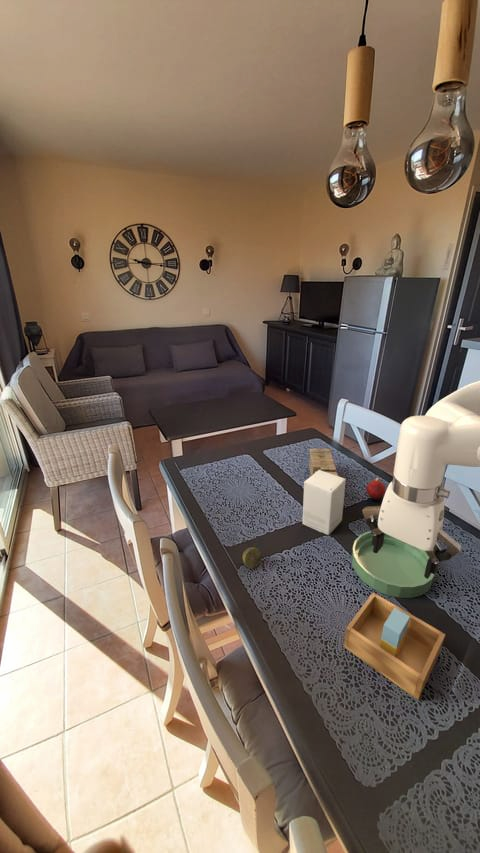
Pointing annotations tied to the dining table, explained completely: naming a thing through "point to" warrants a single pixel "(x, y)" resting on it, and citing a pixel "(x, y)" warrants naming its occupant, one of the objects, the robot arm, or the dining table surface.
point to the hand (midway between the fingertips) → (402, 560)
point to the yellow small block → (392, 649)
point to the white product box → (323, 501)
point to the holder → (414, 655)
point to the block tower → (321, 461)
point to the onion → (375, 489)
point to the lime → (251, 557)
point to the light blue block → (395, 627)
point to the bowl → (391, 566)
